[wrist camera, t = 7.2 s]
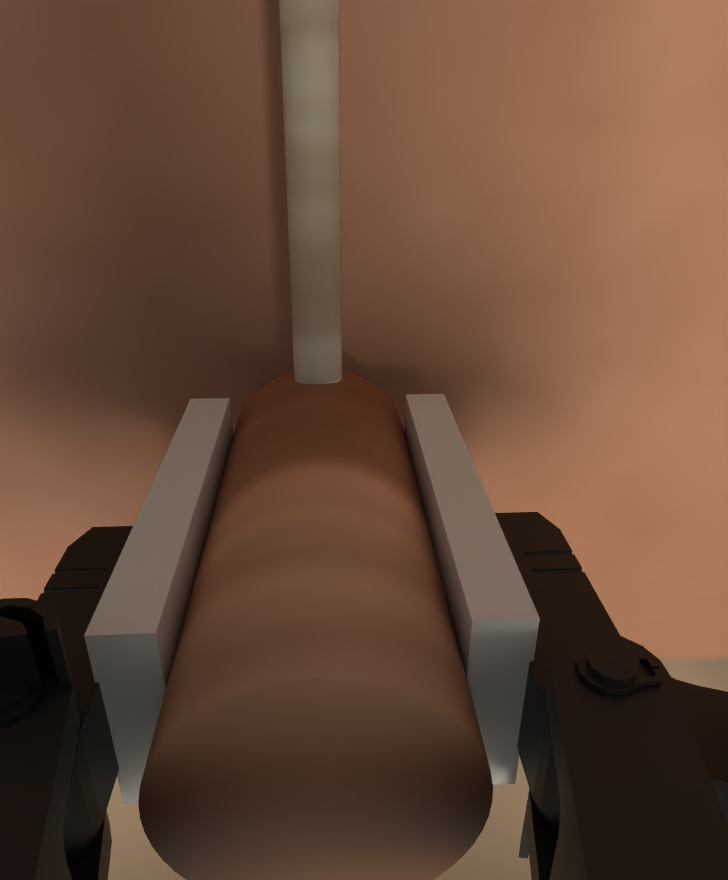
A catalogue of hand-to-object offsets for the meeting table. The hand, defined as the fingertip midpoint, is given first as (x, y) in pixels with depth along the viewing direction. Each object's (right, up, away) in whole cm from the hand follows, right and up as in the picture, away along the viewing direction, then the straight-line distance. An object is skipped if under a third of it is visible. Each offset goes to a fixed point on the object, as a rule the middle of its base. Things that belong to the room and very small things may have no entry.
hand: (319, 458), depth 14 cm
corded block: (0, +8, -4) cm, 9 cm away
